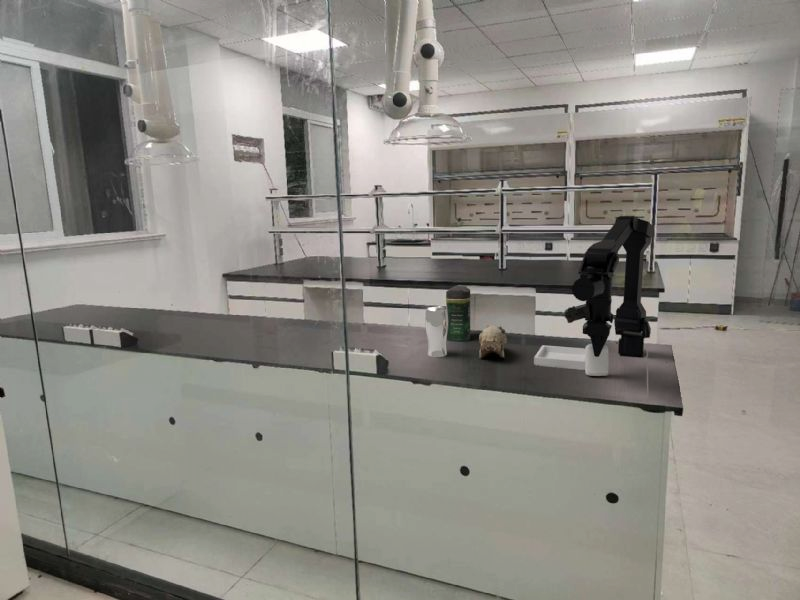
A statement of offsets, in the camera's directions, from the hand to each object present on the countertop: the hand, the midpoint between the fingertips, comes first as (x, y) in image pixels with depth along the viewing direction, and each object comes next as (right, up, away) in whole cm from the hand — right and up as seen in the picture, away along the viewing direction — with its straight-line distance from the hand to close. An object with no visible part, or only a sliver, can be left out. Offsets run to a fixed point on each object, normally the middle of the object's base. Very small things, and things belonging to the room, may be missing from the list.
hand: (597, 354), depth 142 cm
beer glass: (-41, -3, +22) cm, 46 cm away
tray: (-5, -3, +14) cm, 15 cm away
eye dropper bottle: (0, -6, 0) cm, 6 cm away
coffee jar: (-32, 0, +41) cm, 52 cm away
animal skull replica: (-24, -3, +21) cm, 31 cm away
